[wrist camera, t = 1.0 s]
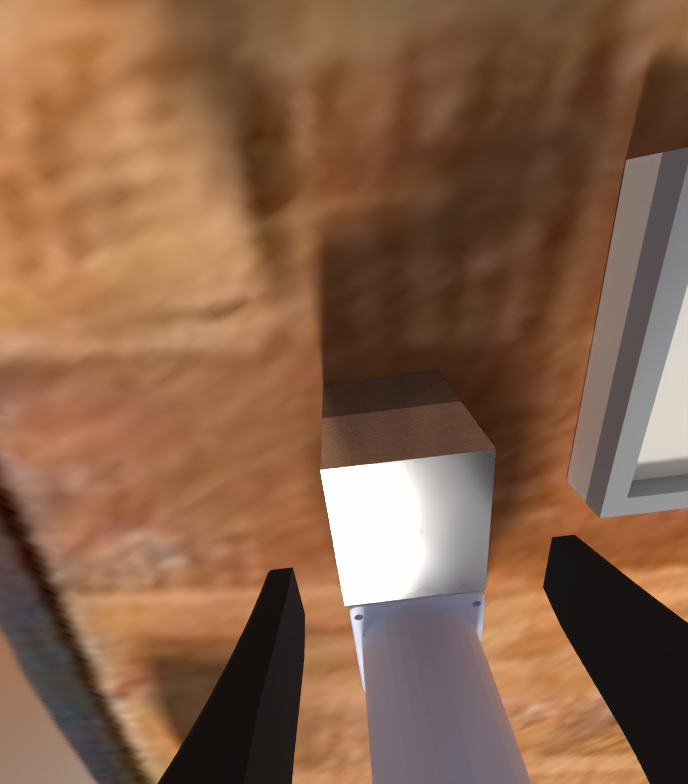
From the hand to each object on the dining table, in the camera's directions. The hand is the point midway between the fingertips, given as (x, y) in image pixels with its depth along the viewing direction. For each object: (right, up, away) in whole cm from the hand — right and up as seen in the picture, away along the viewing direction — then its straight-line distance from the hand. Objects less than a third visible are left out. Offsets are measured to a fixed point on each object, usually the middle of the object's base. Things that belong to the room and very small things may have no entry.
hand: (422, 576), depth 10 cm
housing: (0, +3, +7) cm, 8 cm away
